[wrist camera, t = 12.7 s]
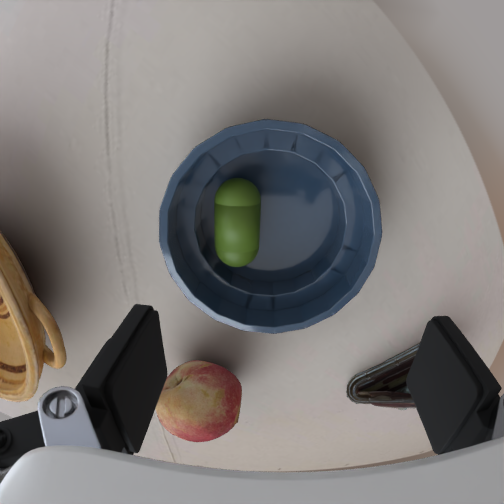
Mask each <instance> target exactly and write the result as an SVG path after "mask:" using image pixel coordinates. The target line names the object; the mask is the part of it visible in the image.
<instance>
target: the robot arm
mask: <svg viewBox="0 0 504 504" xmlns="http://www.w3.org/2000/svg"><path fill="white" fill-rule="evenodd" d="M166 379H167V366H166V361H165V354H164V348H163V342H162V335H161V328H160V321H159V314H158V311H155V310H154V309H153V307H152V306H149V305H139V304H135V305H134V306H133V308H132V309H131V311H130V312H129V313H128V315H127V316H126V318H125V319H124V320H123V322H122V323H121V325H120V326H119V328H118V329H117V330H116V332H115V333H114V335H113V336H112V338H111V339H109V340H108V341H107V342H106V343H105V345H104V346H103V347H102V349H101V350H100V352H99V353H98V355H97V356H96V358H95V359H94V361H93V362H92V364H91V365H90V367H89V368H88V370H87V371H86V373H85V374H84V376H83V377H82V379H81V380H80V382H79V383H78V385H77V386H76V388H75V389H74V388H71V387H66V386H60V387H55V388H52V389H50V390H48V391H47V392H45V393H44V394H43V395H42V397H41V398H40V400H39V402H38V411H35V412H32V413H28V414H25V415H22V416H19V417H15V418H12V419H9V420H5V421H2V422H0V504H504V394H503V395H502V396H501V397H499V395H498V393H499V392H500V390H501V386H500V385H499V383H498V382H497V380H496V379H495V377H494V376H493V374H492V373H491V372H490V370H489V369H488V367H487V366H486V365H485V363H484V362H483V360H482V359H481V358H480V356H479V355H478V354H477V352H476V351H475V350H474V348H473V347H472V346H471V344H470V343H469V342H468V340H467V339H466V338H465V336H464V335H463V334H462V332H461V331H460V330H459V329H458V327H457V326H456V325H455V324H454V322H453V321H452V320H451V319H450V317H448V316H435V317H433V318H432V319H431V321H429V322H428V323H427V325H426V328H425V331H424V334H423V337H422V340H421V342H420V345H419V348H418V350H417V353H416V355H415V358H414V360H413V363H412V365H411V368H410V370H409V373H408V375H407V378H406V384H407V387H408V390H409V392H410V394H411V396H412V399H413V401H414V404H415V406H416V408H417V411H418V413H419V416H420V418H421V420H422V423H423V425H424V428H425V430H426V433H427V436H428V438H429V441H430V443H431V446H432V449H433V451H434V452H435V453H436V454H438V455H436V456H432V457H427V458H422V459H418V460H413V461H407V462H402V463H397V464H390V465H383V466H376V467H369V468H359V469H350V470H337V471H320V472H256V471H239V470H227V469H217V468H208V467H200V466H192V465H185V464H179V463H172V462H166V461H160V460H155V459H150V458H145V457H140V456H135V455H133V454H134V453H138V452H139V451H140V448H141V446H142V443H143V440H144V437H145V435H146V432H147V429H148V427H149V424H150V421H151V418H152V416H153V413H154V410H155V408H156V405H157V403H158V400H159V397H160V395H161V392H162V389H163V387H164V384H165V382H166Z"/></svg>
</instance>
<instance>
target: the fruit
mask: <svg viewBox="0 0 504 504" xmlns="http://www.w3.org/2000/svg"><path fill="white" fill-rule="evenodd" d="M241 387H242V386H241V383H240V382H239V380H238V379H237V378H236V376H235V375H234V374H233V373H231V372H230V371H229V370H227V369H226V368H224V367H222V366H219V365H217V364H214V363H211V362H206V361H201V360H193V361H189V362H186V363H184V364H182V365H180V366H178V367H177V368H176V369H174V370H173V371H172V372H171V374H170V375H169V376H168V377H167V379H166V382H165V384H164V387H163V389H162V392H161V395H160V397H159V400H158V403H157V405H156V412H157V415H158V418H159V420H160V422H161V424H162V425H163V426H164V427H165V428H166V429H167V430H168V431H169V432H170V433H171V434H173V435H176V436H177V437H180V438H182V439H185V440H187V441H192V442H204V441H210V440H213V439H215V438H218V437H220V436H222V435H224V434H225V433H227V432H228V431H229V430H230V429H232V428H233V427H234V425H235V424H236V423H237V422H238V418H239V413H240V407H241V406H240V405H241V397H242V388H241Z"/></svg>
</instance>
